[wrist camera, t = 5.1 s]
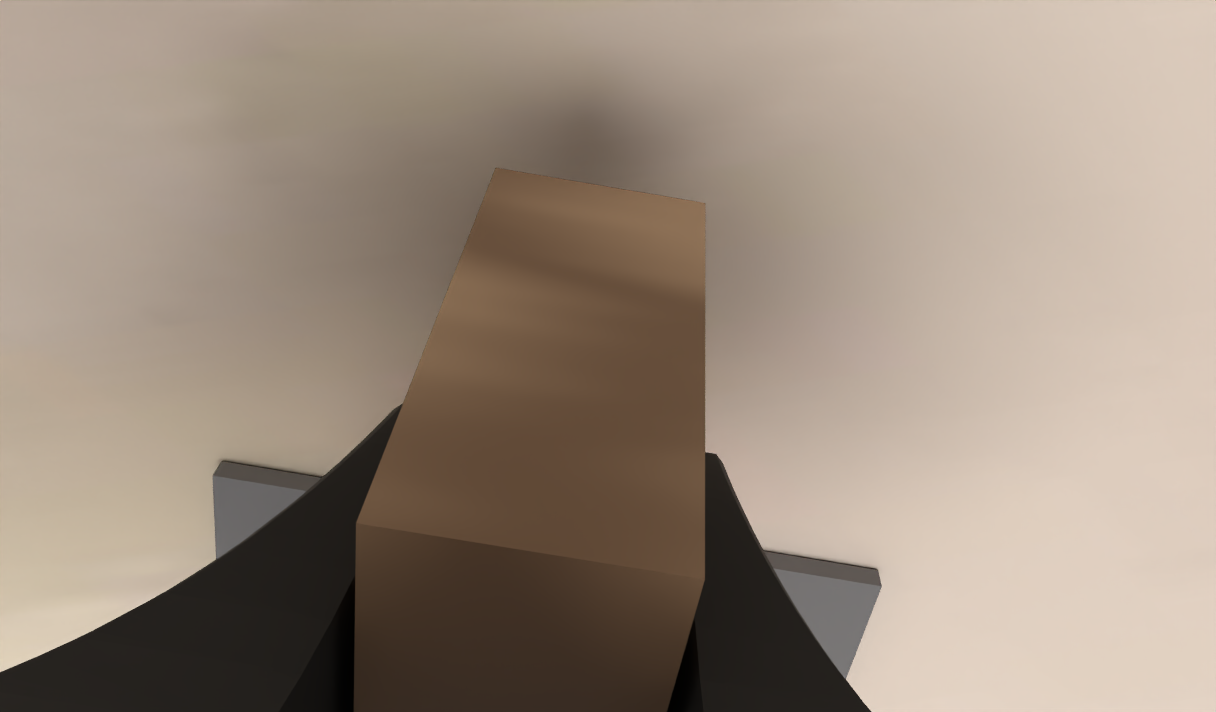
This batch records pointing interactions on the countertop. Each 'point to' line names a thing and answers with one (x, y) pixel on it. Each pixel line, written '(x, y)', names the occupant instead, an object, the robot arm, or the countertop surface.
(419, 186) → the countertop surface
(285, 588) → the robot arm
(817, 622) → the mat
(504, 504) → the wooden plank piece
